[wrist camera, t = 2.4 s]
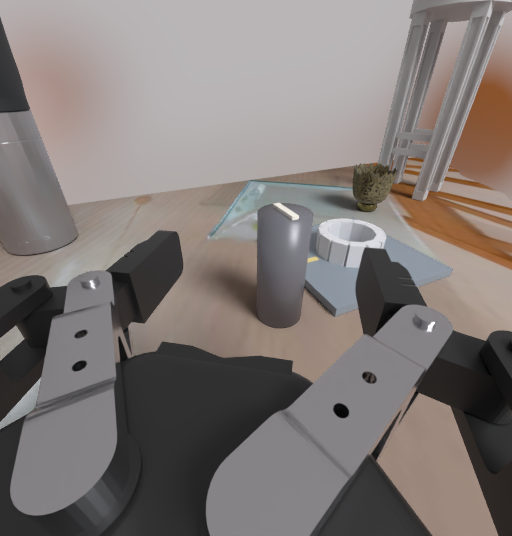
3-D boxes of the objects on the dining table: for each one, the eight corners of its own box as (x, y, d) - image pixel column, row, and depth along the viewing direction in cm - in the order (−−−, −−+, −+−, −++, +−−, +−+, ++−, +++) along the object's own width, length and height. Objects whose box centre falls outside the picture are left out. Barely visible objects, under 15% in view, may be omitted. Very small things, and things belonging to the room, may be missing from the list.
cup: (339, 204, 56) (346, 163, 51) (370, 201, 58) (379, 161, 53) (361, 218, 50) (371, 173, 45) (394, 214, 52) (407, 170, 47)
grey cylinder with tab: (249, 305, 30) (248, 204, 23) (286, 294, 31) (294, 197, 25) (268, 333, 26) (273, 224, 20) (309, 319, 28) (325, 214, 22)
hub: (260, 242, 42) (260, 217, 40) (352, 222, 48) (356, 200, 46) (335, 316, 28) (341, 285, 26) (449, 275, 34) (463, 247, 32)
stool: (388, 177, 74) (435, -1, 55) (452, 190, 64) (536, -20, 45) (359, 189, 65) (403, -19, 46) (429, 205, 55) (521, -47, 36)
